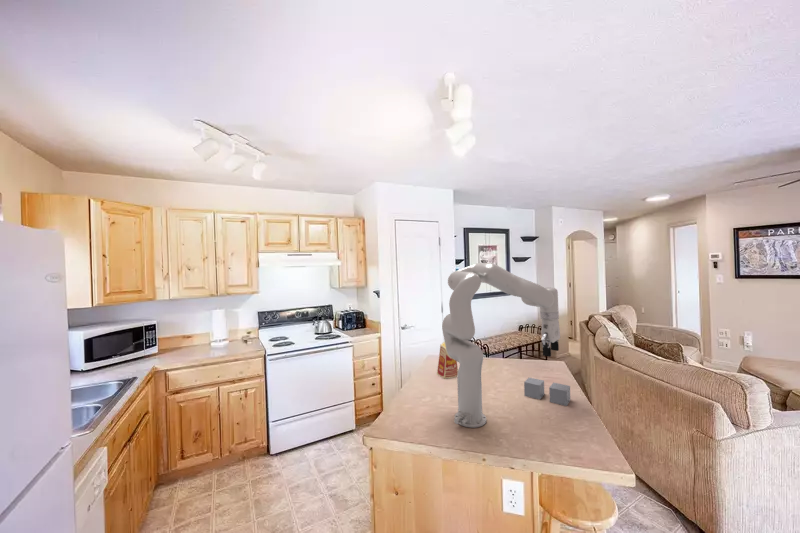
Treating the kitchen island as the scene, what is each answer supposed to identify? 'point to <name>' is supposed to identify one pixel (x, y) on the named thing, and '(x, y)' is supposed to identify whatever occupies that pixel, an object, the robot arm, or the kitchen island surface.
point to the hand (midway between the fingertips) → (551, 353)
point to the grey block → (559, 394)
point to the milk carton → (446, 364)
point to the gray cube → (534, 388)
